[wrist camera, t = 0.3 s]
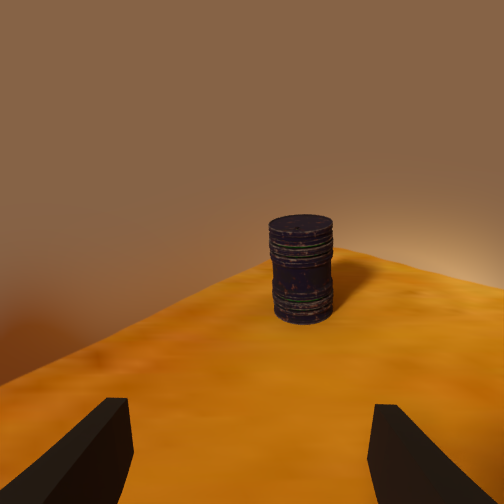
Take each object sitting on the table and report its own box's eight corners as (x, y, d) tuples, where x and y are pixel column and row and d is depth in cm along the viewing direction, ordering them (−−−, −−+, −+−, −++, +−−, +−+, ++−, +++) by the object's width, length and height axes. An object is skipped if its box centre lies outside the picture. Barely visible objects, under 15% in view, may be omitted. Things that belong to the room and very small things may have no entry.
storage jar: (280, 293, 63) (275, 214, 58) (335, 296, 60) (335, 213, 55) (267, 322, 54) (260, 232, 49) (330, 328, 51) (330, 232, 46)
